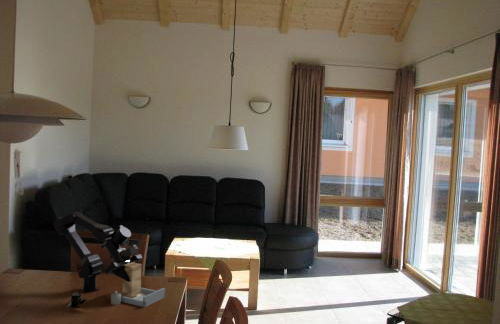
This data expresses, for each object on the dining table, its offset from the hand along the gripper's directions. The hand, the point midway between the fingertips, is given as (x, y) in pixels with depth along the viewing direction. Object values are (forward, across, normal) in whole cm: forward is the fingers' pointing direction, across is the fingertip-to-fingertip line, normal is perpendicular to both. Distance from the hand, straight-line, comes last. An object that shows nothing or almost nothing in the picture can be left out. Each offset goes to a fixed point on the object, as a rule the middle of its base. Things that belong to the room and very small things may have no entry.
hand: (134, 279), depth 198 cm
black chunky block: (-5, -16, +19) cm, 26 cm away
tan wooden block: (+4, 0, +6) cm, 7 cm away
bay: (+9, -2, +4) cm, 10 cm away
